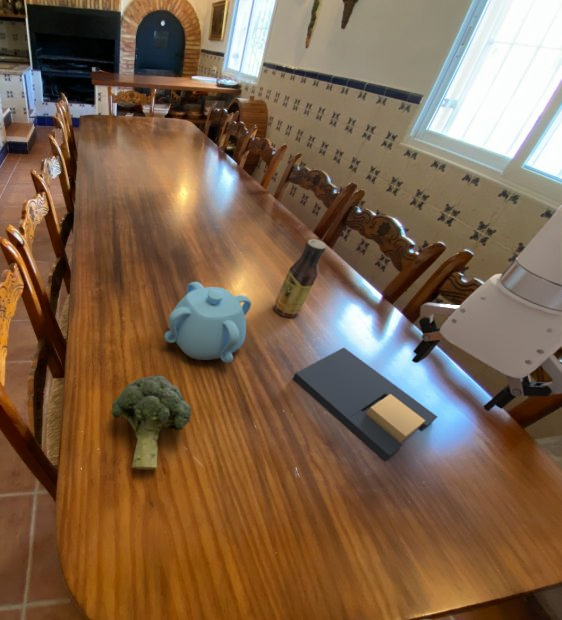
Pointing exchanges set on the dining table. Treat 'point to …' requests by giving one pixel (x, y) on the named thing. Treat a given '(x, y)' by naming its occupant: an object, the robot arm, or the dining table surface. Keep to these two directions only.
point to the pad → (395, 417)
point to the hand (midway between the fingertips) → (451, 381)
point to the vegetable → (151, 414)
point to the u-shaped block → (356, 397)
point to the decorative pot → (209, 323)
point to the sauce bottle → (299, 280)
